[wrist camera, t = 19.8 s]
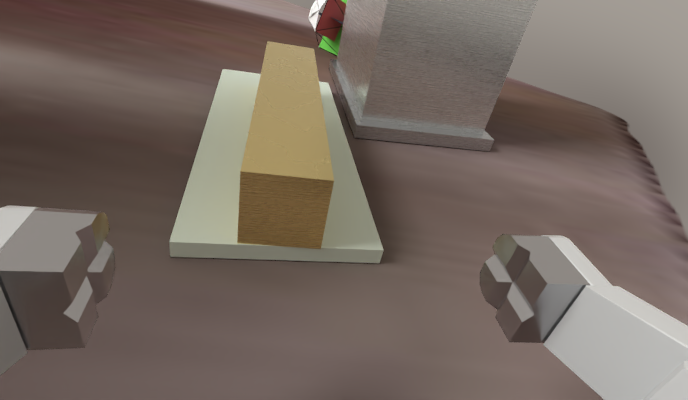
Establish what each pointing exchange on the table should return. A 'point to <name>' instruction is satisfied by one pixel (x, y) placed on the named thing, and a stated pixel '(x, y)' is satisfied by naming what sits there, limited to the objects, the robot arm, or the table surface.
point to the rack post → (426, 67)
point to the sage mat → (224, 186)
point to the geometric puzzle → (328, 23)
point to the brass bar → (286, 155)
